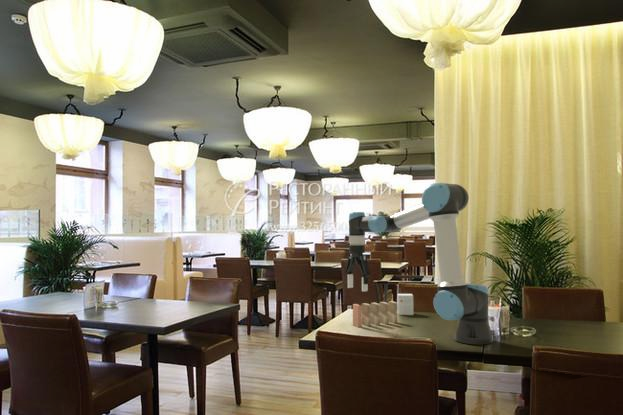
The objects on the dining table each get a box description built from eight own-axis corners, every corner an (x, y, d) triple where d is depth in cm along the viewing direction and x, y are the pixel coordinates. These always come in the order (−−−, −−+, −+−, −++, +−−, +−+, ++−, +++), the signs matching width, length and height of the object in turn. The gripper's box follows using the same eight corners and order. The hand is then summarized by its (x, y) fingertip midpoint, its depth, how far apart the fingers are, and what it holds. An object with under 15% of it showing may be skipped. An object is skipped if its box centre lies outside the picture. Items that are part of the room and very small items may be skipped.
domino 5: (391, 321, 249) (391, 301, 250) (397, 323, 245) (397, 302, 245) (388, 321, 249) (388, 301, 249) (393, 323, 244) (393, 302, 244)
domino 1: (356, 324, 241) (356, 303, 241) (361, 327, 237) (361, 305, 237) (352, 325, 240) (352, 304, 240) (358, 327, 236) (358, 305, 236)
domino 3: (374, 323, 245) (374, 302, 245) (379, 325, 241) (379, 304, 241) (370, 323, 244) (370, 302, 245) (376, 325, 240) (376, 304, 240)
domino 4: (383, 322, 247) (382, 301, 248) (388, 324, 243) (388, 303, 243) (379, 322, 247) (379, 302, 247) (385, 324, 242) (385, 303, 242)
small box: (412, 313, 270) (412, 293, 271) (413, 315, 265) (413, 295, 265) (397, 313, 271) (397, 293, 271) (398, 315, 266) (398, 295, 266)
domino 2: (365, 324, 243) (365, 303, 243) (370, 326, 239) (370, 304, 239) (361, 324, 242) (361, 303, 243) (367, 326, 238) (367, 305, 238)
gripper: (377, 245, 229) (378, 292, 229) (351, 243, 252) (351, 285, 252) (363, 245, 226) (364, 293, 226) (337, 243, 249) (338, 286, 248)
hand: (357, 289), depth 239 cm, fingers open, 13 cm apart
